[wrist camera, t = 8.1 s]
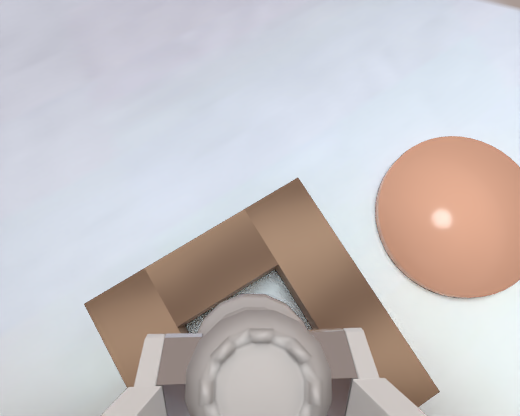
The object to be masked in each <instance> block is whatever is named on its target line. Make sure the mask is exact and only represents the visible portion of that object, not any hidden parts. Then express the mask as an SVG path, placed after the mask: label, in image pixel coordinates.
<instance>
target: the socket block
mask: <svg viewBox="0 0 520 416" xmlns="http://www.w3.org/2000/svg"><path fill="white" fill-rule="evenodd" d="M274 269H276V271H277V272H278V274H279V276H280V277H281V279H282V280H283V282H284V284H285V285H286V287H287V288H288V290H289V292H290V293H291V295H292V297H293V298H294V300H295V301H296V303H297V305H298V306H299V308H300V309H301V311H302V313H303V314H304V316H305V318H306V319H307V321H308V322H309V324H310V326H311V327H312V329H334V328H342V329H343V328H362V329H363V331H364V333H365V336H366V339H367V342H368V345H369V348H370V351H371V354H372V357H373V360H374V363H375V366H376V369H377V372H378V375H379V378H386V379H387V380H388V381H389V382H390V383H391V384H392V385H393V386H394V387H396V388H397V389H398V390H399V391H400V392H401V393H402V394H403V395H404V396H406V397H407V398H408V399H409V400H410V401H411V402H412V403H413V404H415V405H416V406H417V407H419V406H420V405H422V404H423V403H425V402H426V401H427V400H429V399H430V398H432V397H433V396H434V395H436V394H437V393H439V392H440V391H439V390H438V388H437V387H436V385H435V384H434V382H433V381H432V379H431V378H430V376H429V375H428V373H427V372H426V370H425V369H424V367H423V366H422V364H421V363H420V361H419V360H418V358H417V357H416V355H415V354H414V352H413V351H412V349H411V347H410V346H409V344H408V343H407V341H406V340H405V338H404V337H403V335H402V334H401V332H400V331H399V329H398V328H397V326H396V325H395V323H394V322H393V320H392V319H391V317H390V316H389V314H388V313H387V311H386V310H385V308H384V307H383V305H382V304H381V302H380V301H379V299H378V298H377V296H376V295H375V293H374V292H373V290H372V289H371V287H370V286H369V284H368V283H367V281H366V279H365V278H364V276H363V275H362V273H361V272H360V270H359V269H358V267H357V266H356V264H355V263H354V261H353V260H352V258H351V257H350V255H349V254H348V252H347V251H346V249H345V248H344V246H343V245H342V243H341V242H340V240H339V239H338V237H337V236H336V234H335V233H334V231H333V230H332V228H331V227H330V225H329V224H328V222H327V221H326V219H325V218H324V216H323V214H322V213H321V211H320V210H319V208H318V207H317V205H316V204H315V202H314V201H313V199H312V198H311V196H310V195H309V193H308V192H307V190H306V189H305V187H304V186H303V184H302V183H301V181H300V180H299V178H296V179H295V180H293V181H291V182H290V183H288V184H286V185H285V186H283V187H281V188H279V189H278V190H276V191H274V192H273V193H271V194H269V195H268V196H266V197H264V198H263V199H261V200H259V201H257V202H256V203H254V204H252V205H251V206H249V207H247V208H246V209H244V210H242V211H241V212H239V213H237V214H235V215H234V216H232V217H230V218H229V219H227V220H225V221H224V222H222V223H220V224H219V225H217V226H215V227H213V228H212V229H210V230H208V231H207V232H205V233H203V234H202V235H200V236H198V237H197V238H195V239H193V240H191V241H190V242H188V243H186V244H185V245H183V246H181V247H180V248H178V249H176V250H175V251H173V252H171V253H169V254H168V255H166V256H164V257H163V258H161V259H159V260H158V261H156V262H154V263H153V264H151V265H149V266H147V267H146V268H144V269H142V270H141V271H139V272H137V273H136V274H134V275H132V276H131V277H129V278H127V279H125V280H124V281H122V282H120V283H119V284H117V285H115V286H114V287H112V288H110V289H109V290H107V291H105V292H103V293H102V294H100V295H98V296H97V297H95V298H93V299H92V300H90V301H88V302H87V303H85V304H84V305H85V307H86V309H87V311H88V313H89V315H90V317H91V318H92V320H93V322H94V324H95V326H96V328H97V330H98V332H99V334H100V336H101V338H102V340H103V342H104V344H105V346H106V348H107V350H108V352H109V353H110V355H111V357H112V359H113V361H114V363H115V365H116V367H117V369H118V371H119V373H120V375H121V377H122V379H123V381H124V383H125V385H126V387H127V388H128V387H134V383H135V379H136V375H137V370H138V366H139V362H140V357H141V353H142V349H143V345H144V340H145V338H146V336H147V334H168V333H189V332H188V330H187V328H186V326H185V325H186V324H188V323H189V322H191V321H192V320H194V319H196V318H197V317H199V316H200V315H202V314H204V313H205V312H207V311H208V310H210V309H212V308H213V307H215V306H216V305H218V304H219V303H221V302H223V301H225V300H226V299H228V298H229V297H231V296H233V295H234V294H236V293H237V292H239V291H241V290H242V289H244V288H245V287H247V286H249V285H250V284H252V283H253V282H255V281H257V280H258V279H260V278H262V277H263V276H265V275H266V274H268V273H270V272H271V271H273V270H274Z"/></svg>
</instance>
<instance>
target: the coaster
mask: <svg viewBox="0 0 520 416" xmlns="http://www.w3.org/2000/svg"><path fill="white" fill-rule="evenodd" d="M375 213H376V224H377V229H378V233H379V236H380V239H381V241H382V244H383V246H384V248H385V250H386V252H387V253H388V255H389V257H390V258H391V260H392V261H393V262H394V264H395V265H396V266H397V267H398V268H399V269H400V270H401V271H402V272H403V273H404V274H405V275H406V276H407V277H408V278H410V279H411V280H412V281H413V282H415V283H417V284H418V285H420V286H422V287H423V288H425V289H427V290H430V291H432V292H434V293H438V294H441V295H444V296H450V297H458V298H471V297H482V296H488V295H492V294H495V293H498V292H500V291H503V290H505V289H507V288H509V287H510V286H512V285H514V284H515V283H516V282H517V281H519V280H520V167H519V166H518V165H517V164H516V163H515V162H514V161H513V160H512V159H511V158H510V157H508V156H507V155H506V154H504V153H503V152H501V151H500V150H498V149H496V148H495V147H493V146H491V145H489V144H486V143H484V142H482V141H478V140H475V139H471V138H465V137H455V136H448V137H439V138H434V139H430V140H427V141H424V142H421V143H419V144H418V145H416V146H414V147H412V148H411V149H409V150H408V151H406V152H405V153H404V154H403V155H402V156H401V157H400V158H399V159H398V160H397V161H396V162H395V163H394V164H393V165H392V166H391V167H390V169H389V170H388V171H387V173H386V174H385V176H384V178H383V180H382V182H381V184H380V187H379V190H378V194H377V198H376V207H375Z"/></svg>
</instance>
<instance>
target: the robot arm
mask: <svg viewBox="0 0 520 416" xmlns="http://www.w3.org/2000/svg"><path fill="white" fill-rule="evenodd" d="M308 331H309V332H310V333H311V334H312V335H313V336H314V337H315V338H316V339H317V340H318V341H319V342H320V344H321V347H322V349H323V351H324V354H325V356H326V359H327V361H328V364H329V366H330V369H331V383H332V402H331V405H330V408H329V411H328V413H327V416H427V415H426V414H425V413H423V412H422V411H421V410H420V409H419V408H418V407H417V406H416V405H415V404H413V403H412V402H411V401H410V400H409V399H408V398H407V397H406V396H404V395H403V394H402V393H401V392H400V391H399V390H398V389H397V388H396V387H394V386H393V385H392V384H391V383H390V382H389V381H388V380H387V379H386V378H379V375H378V372H377V369H376V366H375V363H374V360H373V357H372V354H371V351H370V348H369V345H368V342H367V339H366V336H365V333H364V331H363V329H362V328H343V329H342V328H334V329H310V330H308ZM202 337H203V333H168V334H147V336H146V338H145V340H144V345H143V349H142V353H141V357H140V362H139V366H138V370H137V375H136V379H135V383H134V387H128V388H127V389H126V390H125V391H124V392H123V393H122V394H121V395H120V396H119V397H118V398H117V399H116V400H115V401H114V402H113V403H112V404H111V405H110V406H109V407H108V409H107V410H106V411H105V412H104V413H103V414H102V415H101V416H190V414H189V411H188V408H187V405H186V402H185V387H186V369H187V367H188V364H189V362H190V360H191V358H192V355H193V353H194V351H195V349H196V346H197V344H198V342H199V340H200V339H201V338H202Z"/></svg>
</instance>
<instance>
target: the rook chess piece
mask: <svg viewBox="0 0 520 416" xmlns="http://www.w3.org/2000/svg"><path fill="white" fill-rule="evenodd" d="M197 333H203V337H202V338H201V339H200V340H199V342H198V344H197V346H196V349H195V351H194V353H193V355H192V358H191V360H190V362H189V364H188V367H187V369H186V387H185V402H186V405H187V408H188V411H189V414H190V416H327V413H328V411H329V408H330V405H331V402H332V383H331V369H330V366H329V364H328V361H327V359H326V356H325V354H324V351H323V349H322V347H321V344H320V342H319V341H318V340H317V339H316V338H315V337H314V336H313V335H312V334H311V333H310V332H309V331H308V330H307V329H306V326H305V324H304V322H303V321H302V320H301V319H300V318H299V317H298V316H297V315H296V314H295V313H294V312H293V310H292V309H291V308H290V307H289V306H288V305H287V304H286V303H283V302H281V301H279V300H277V299H274V298H272V297H270V296H267V295H265V294H241V295H238V296H236V297H233V298H231V299H228V300H226V301H223V302H221V303H219V304H218V305H217V306H216V307H215V308H214V309H213V310H212V311H211V312H210V313H209V314H208V315H207V316H206V317H205V318H204V319H203V321H202V323H201V325H200V328H199V330H198V332H197Z"/></svg>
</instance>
